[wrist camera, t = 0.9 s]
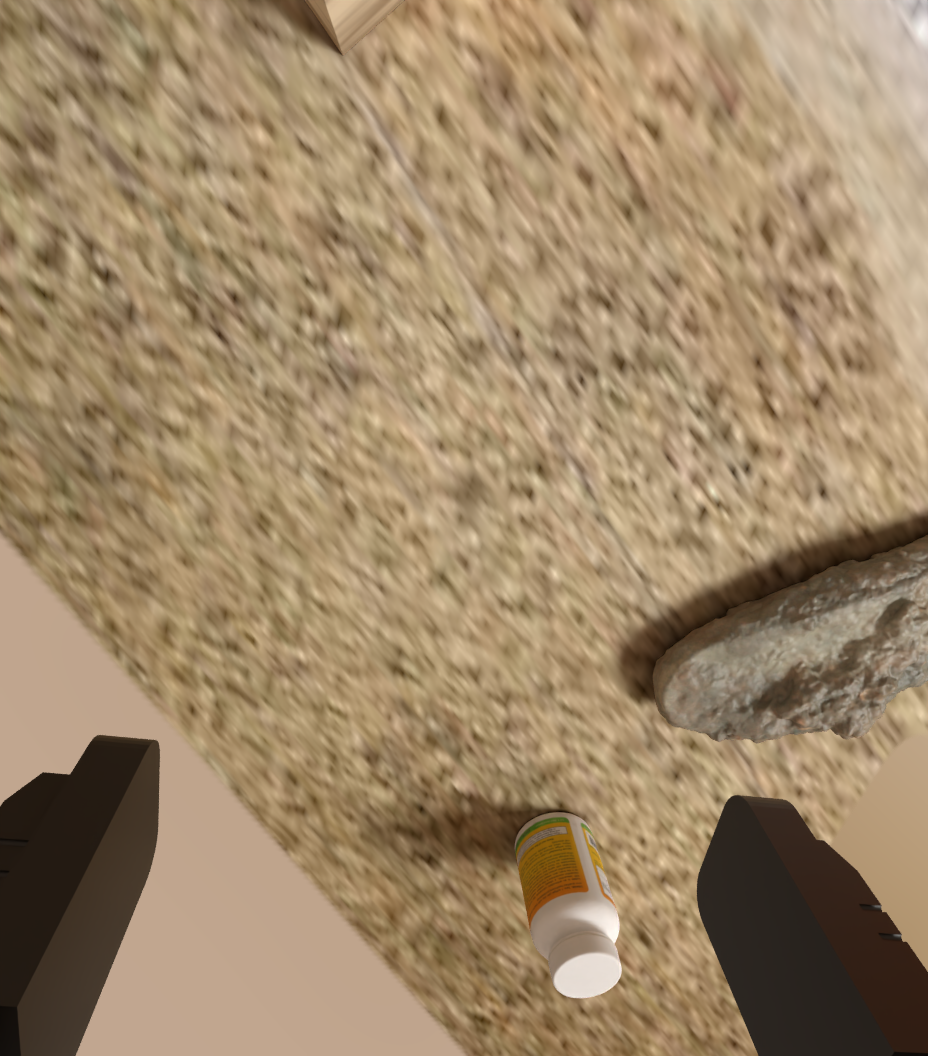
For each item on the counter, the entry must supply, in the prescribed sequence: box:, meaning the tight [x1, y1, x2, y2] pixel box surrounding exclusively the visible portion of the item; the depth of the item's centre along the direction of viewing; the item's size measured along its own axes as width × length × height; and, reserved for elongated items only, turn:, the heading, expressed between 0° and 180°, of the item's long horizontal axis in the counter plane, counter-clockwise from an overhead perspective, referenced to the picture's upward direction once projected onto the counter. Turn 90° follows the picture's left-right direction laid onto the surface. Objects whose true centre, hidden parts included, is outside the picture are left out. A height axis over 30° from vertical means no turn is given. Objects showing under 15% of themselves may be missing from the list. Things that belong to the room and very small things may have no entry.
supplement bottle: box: [515, 812, 621, 998], centre depth 46 cm, size 5×5×10 cm
